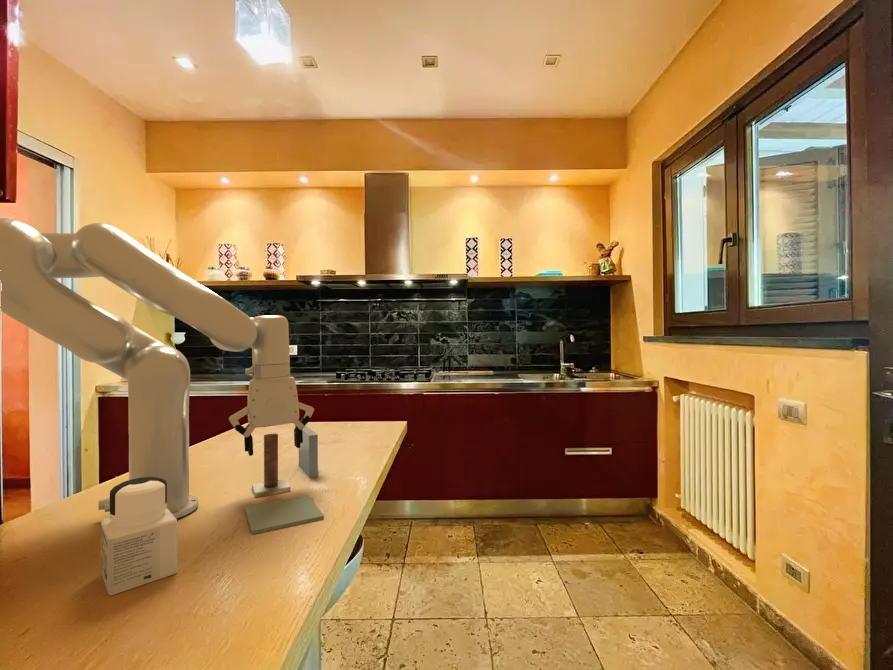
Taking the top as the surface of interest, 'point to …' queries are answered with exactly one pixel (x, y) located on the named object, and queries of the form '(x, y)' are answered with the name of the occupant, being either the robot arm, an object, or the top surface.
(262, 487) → the brown upright post
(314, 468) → the tile
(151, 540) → the container
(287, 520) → the mat
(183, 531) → the top surface
